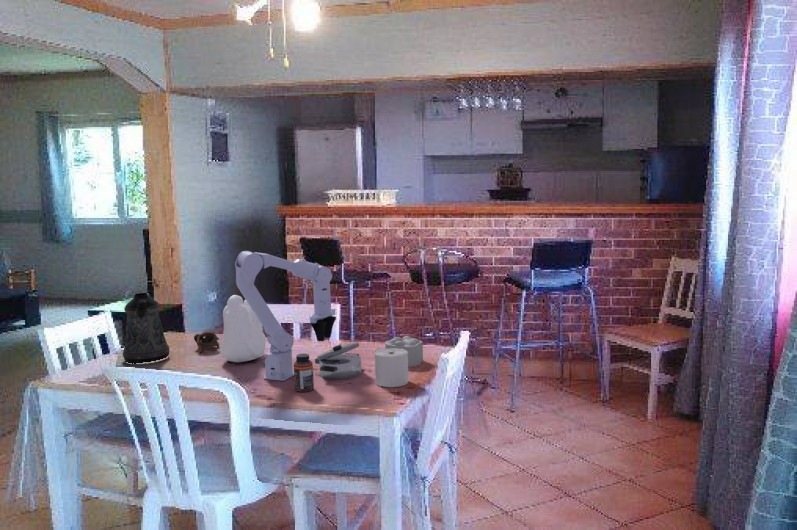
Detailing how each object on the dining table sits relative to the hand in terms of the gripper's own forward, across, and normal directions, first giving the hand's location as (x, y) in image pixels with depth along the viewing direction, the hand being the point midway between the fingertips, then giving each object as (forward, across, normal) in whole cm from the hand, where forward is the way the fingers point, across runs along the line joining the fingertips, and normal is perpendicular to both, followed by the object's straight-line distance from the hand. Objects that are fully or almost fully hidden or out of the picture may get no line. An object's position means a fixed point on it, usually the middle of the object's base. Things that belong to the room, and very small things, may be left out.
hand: (324, 339), depth 247 cm
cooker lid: (+3, -4, -8) cm, 9 cm away
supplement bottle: (+11, -23, -5) cm, 26 cm away
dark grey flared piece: (+11, -9, +70) cm, 71 cm away
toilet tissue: (+11, -8, -28) cm, 31 cm away
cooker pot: (+10, -4, -8) cm, 14 cm away
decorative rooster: (+11, +4, +34) cm, 36 cm away
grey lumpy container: (+11, +15, -23) cm, 29 cm away
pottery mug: (+11, +10, +58) cm, 60 cm away
